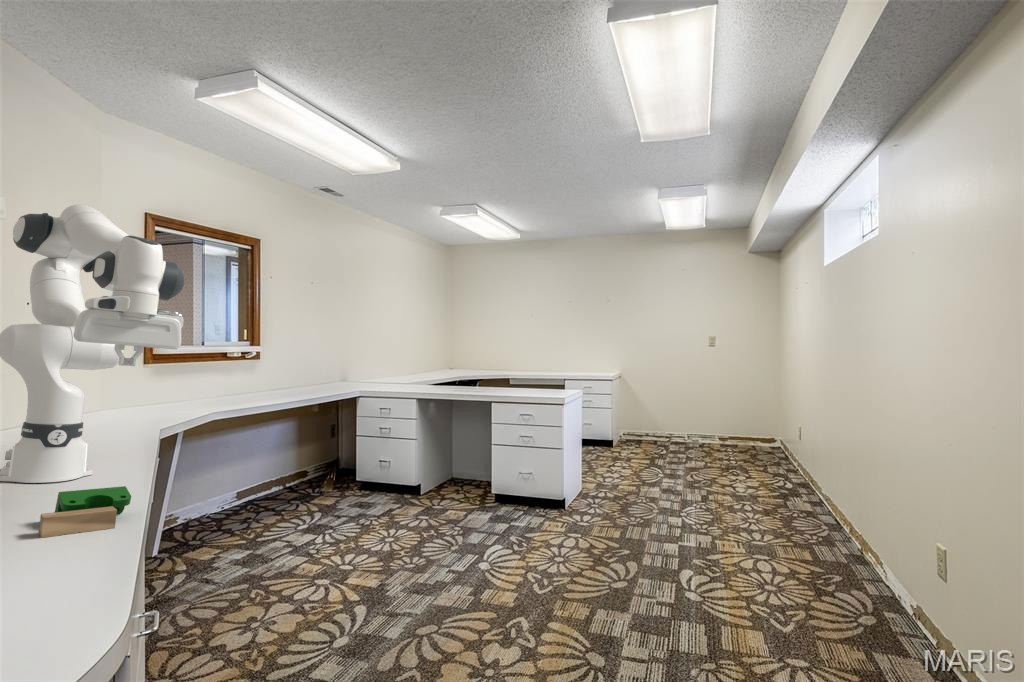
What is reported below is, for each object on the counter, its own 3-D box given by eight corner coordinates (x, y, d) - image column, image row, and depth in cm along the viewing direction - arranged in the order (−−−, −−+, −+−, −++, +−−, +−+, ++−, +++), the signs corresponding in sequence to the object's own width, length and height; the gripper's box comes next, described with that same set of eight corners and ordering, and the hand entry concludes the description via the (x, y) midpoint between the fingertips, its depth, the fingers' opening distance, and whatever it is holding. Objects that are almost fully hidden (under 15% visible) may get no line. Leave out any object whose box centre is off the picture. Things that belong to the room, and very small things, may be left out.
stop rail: (38, 533, 99) (40, 513, 99) (110, 523, 107) (112, 506, 107) (41, 537, 97) (44, 518, 97) (114, 527, 105) (117, 509, 105)
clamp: (68, 547, 105) (52, 510, 101) (62, 532, 108) (47, 496, 105) (139, 516, 112) (126, 481, 109) (131, 503, 116) (119, 469, 113)
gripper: (180, 312, 133) (172, 367, 132) (76, 299, 118) (67, 361, 117) (189, 312, 129) (182, 369, 128) (83, 298, 114) (74, 363, 113)
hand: (126, 365), depth 122 cm, fingers closed
